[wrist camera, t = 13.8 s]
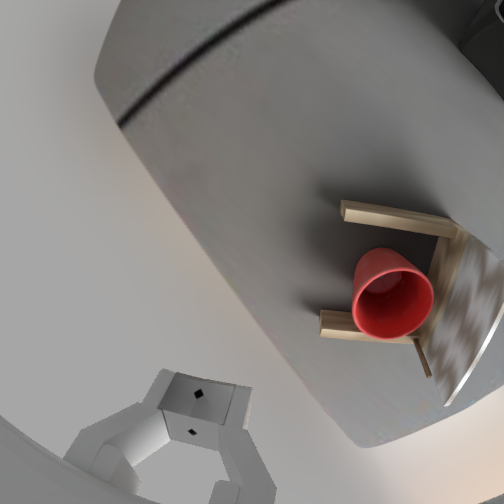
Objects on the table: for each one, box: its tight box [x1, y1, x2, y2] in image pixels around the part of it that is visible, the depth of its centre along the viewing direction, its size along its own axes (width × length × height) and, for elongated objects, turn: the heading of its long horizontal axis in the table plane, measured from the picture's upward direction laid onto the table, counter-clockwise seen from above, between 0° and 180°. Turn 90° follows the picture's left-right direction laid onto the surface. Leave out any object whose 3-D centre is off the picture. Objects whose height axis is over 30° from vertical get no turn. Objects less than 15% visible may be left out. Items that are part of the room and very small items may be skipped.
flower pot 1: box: [352, 248, 434, 340], centre depth 37 cm, size 11×11×10 cm
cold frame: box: [319, 199, 504, 406], centre depth 33 cm, size 19×18×18 cm
